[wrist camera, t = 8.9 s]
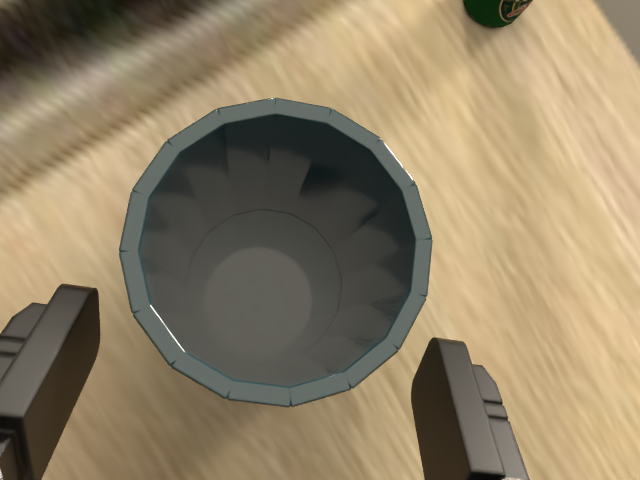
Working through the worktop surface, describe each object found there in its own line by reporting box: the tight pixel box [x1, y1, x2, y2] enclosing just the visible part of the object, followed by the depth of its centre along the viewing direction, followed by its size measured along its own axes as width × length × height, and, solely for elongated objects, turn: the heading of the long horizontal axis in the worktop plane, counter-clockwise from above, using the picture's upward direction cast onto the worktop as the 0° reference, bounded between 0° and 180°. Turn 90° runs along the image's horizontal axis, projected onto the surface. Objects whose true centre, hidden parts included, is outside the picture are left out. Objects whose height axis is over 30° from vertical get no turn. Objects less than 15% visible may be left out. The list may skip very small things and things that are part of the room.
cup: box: [119, 98, 432, 407], centre depth 16 cm, size 6×6×10 cm
